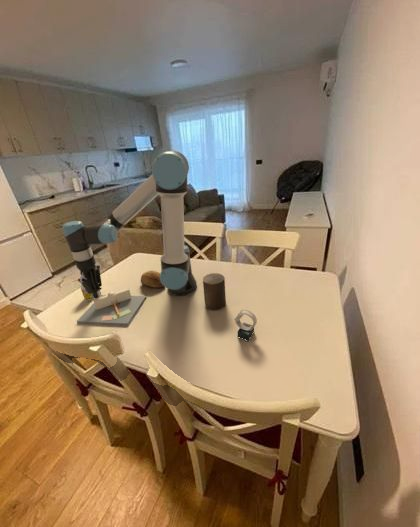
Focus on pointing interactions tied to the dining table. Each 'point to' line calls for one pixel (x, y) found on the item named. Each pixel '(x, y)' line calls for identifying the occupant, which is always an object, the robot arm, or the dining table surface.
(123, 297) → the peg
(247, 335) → the watch
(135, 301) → the grey tray
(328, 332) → the dining table surface
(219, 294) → the pillar candle
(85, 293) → the supplement bottle
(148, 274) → the bread roll
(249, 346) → the dining table surface
